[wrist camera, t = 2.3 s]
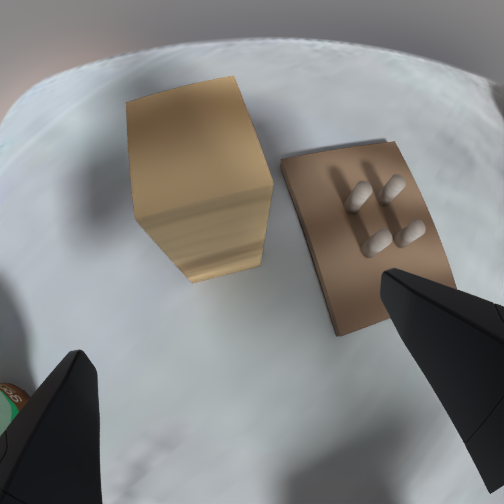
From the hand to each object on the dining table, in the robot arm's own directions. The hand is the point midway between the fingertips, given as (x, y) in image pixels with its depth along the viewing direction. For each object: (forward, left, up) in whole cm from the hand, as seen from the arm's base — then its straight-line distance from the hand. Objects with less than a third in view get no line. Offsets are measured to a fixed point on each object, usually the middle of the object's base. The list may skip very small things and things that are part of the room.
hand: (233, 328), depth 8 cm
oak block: (+4, -6, -13) cm, 15 cm away
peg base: (-7, -11, -13) cm, 18 cm away
